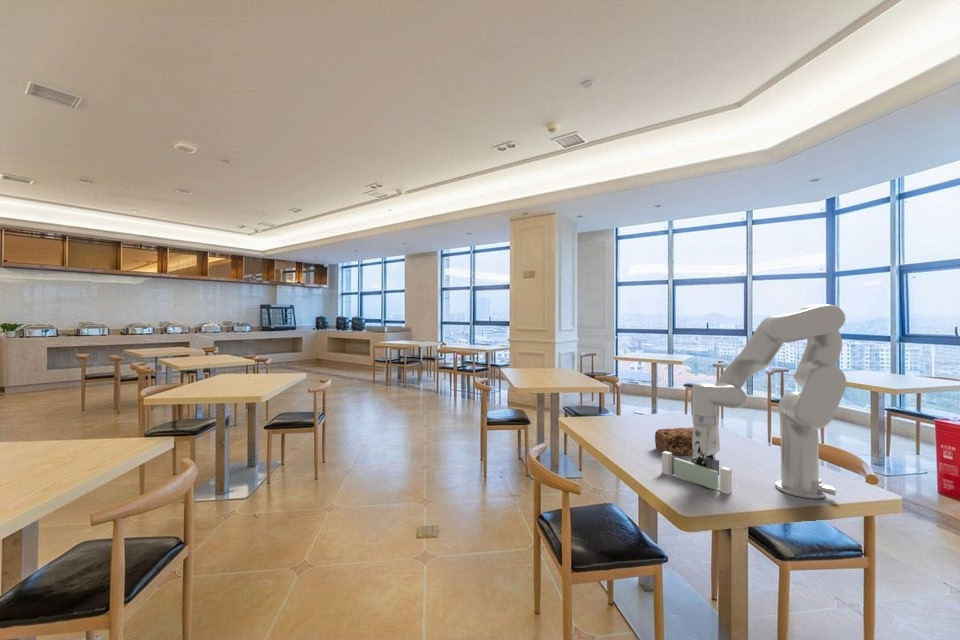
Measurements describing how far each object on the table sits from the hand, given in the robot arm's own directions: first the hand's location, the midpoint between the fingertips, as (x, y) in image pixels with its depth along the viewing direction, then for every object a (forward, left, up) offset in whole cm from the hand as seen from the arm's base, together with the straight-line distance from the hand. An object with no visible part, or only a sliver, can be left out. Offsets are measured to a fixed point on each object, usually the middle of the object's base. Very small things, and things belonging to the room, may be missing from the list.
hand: (705, 472), depth 139 cm
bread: (+20, -23, -3) cm, 31 cm away
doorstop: (0, 0, -1) cm, 1 cm away
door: (+2, +5, -2) cm, 6 cm away
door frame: (+1, +4, -3) cm, 5 cm away
